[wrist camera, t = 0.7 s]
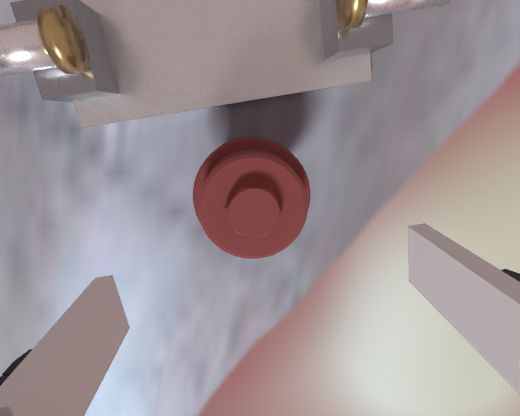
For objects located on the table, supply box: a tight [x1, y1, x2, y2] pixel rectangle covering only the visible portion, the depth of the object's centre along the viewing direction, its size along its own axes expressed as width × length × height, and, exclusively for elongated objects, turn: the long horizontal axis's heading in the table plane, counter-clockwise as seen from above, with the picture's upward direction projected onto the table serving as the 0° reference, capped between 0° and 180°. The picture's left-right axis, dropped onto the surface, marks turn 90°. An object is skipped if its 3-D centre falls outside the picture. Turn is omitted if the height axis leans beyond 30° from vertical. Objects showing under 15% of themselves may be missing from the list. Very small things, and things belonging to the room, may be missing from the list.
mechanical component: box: [193, 137, 310, 259], centre depth 30 cm, size 12×10×10 cm
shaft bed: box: [0, 0, 451, 128], centre depth 27 cm, size 36×12×10 cm, turn 99°
